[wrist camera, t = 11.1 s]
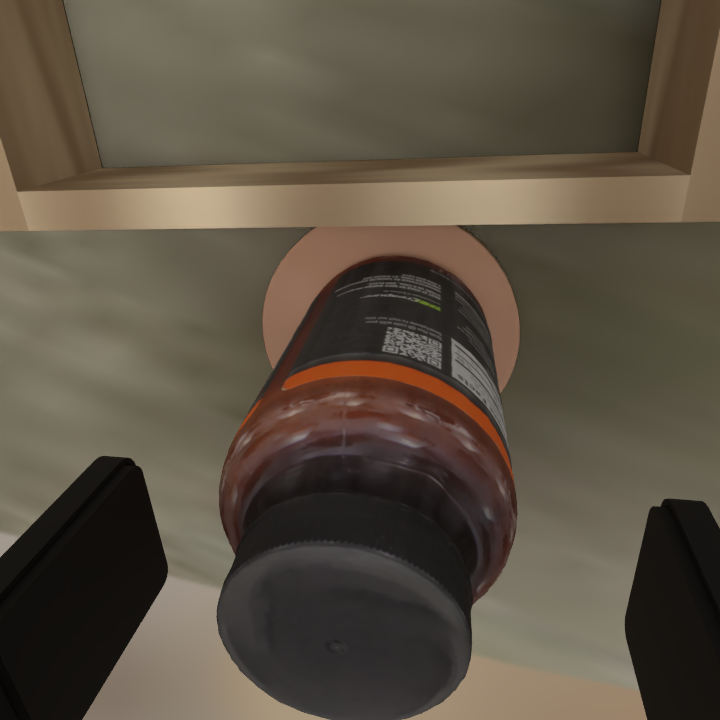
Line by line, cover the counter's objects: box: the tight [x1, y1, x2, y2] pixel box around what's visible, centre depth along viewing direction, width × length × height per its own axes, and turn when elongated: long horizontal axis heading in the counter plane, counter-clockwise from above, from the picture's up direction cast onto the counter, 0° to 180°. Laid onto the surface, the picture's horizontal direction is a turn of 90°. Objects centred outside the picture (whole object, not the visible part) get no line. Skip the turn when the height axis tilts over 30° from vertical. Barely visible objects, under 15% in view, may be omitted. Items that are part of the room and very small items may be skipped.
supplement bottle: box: [217, 256, 517, 720], centre depth 14 cm, size 6×6×11 cm
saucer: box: [262, 225, 520, 394], centre depth 19 cm, size 8×8×1 cm
